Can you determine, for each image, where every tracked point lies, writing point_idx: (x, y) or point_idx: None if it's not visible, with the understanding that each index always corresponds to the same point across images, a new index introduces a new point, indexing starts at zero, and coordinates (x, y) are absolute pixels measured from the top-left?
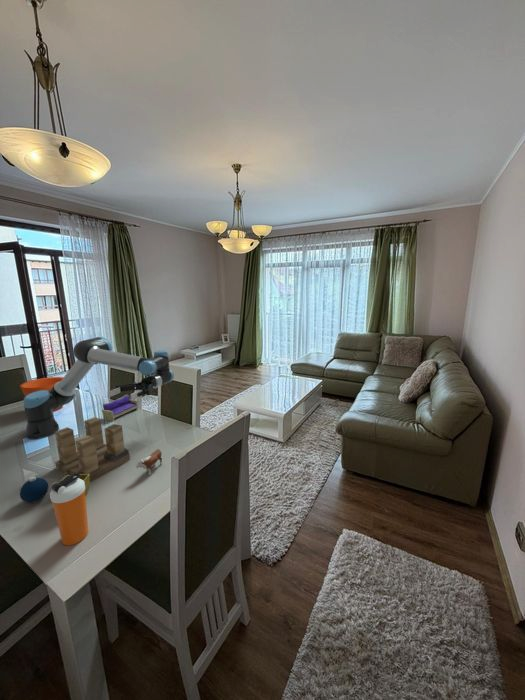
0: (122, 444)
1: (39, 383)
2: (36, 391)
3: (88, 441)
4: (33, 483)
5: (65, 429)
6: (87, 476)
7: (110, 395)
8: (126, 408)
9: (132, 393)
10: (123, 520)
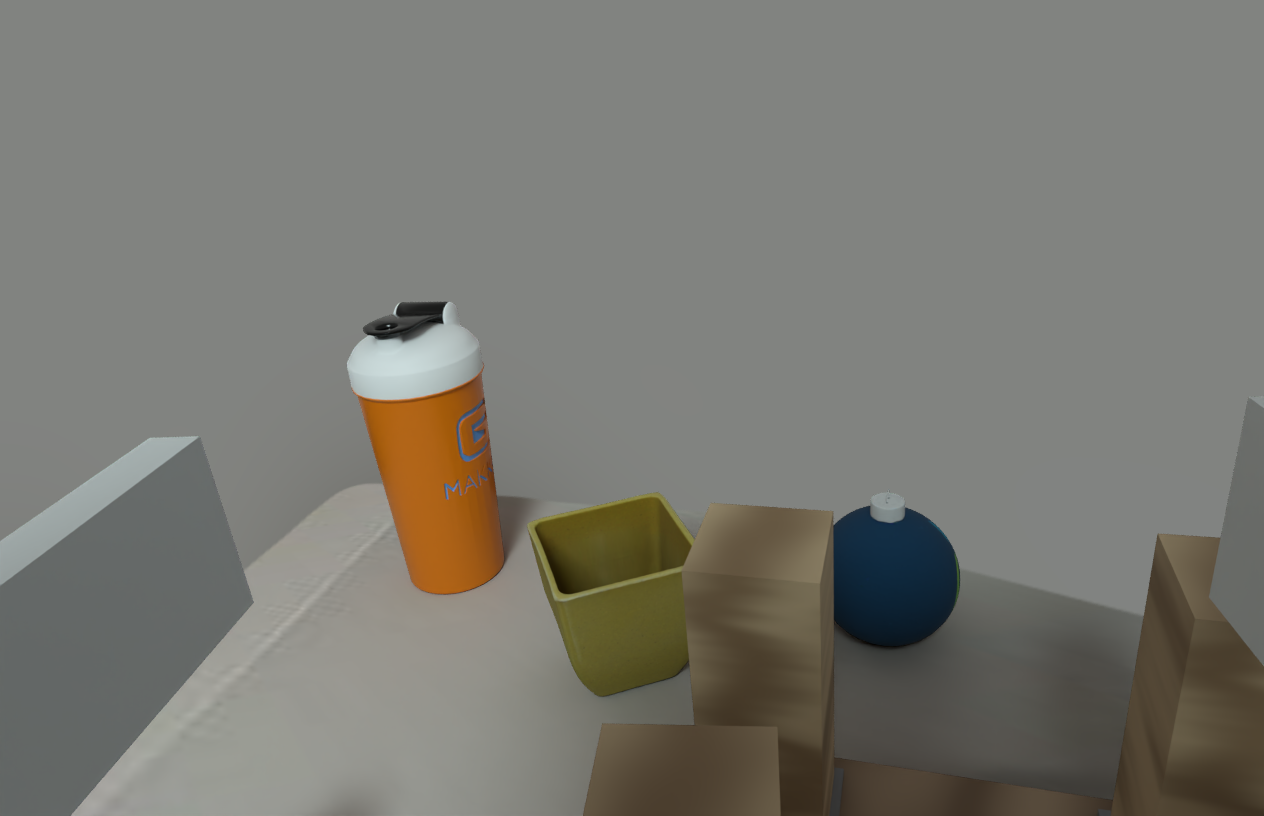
0: None
1: None
2: None
3: (696, 541)
4: (854, 513)
5: None
6: (550, 584)
7: (1237, 582)
8: None
9: (134, 481)
10: (275, 653)
